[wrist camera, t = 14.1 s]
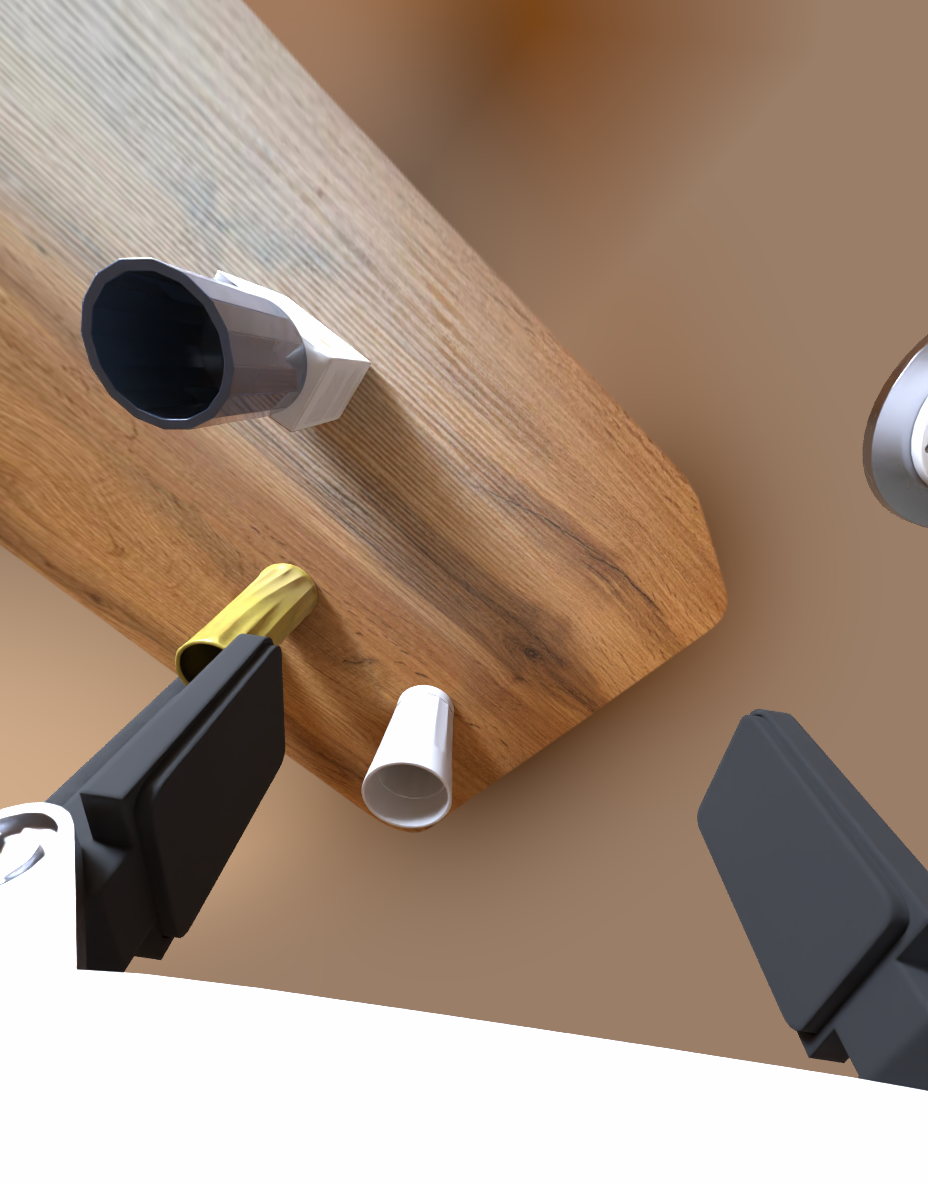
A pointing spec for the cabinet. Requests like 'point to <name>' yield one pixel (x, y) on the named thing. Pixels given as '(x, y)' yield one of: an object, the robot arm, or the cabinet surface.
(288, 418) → the small box
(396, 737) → the cup
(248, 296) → the tumbler
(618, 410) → the cabinet surface
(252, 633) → the vase
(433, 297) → the cabinet surface
